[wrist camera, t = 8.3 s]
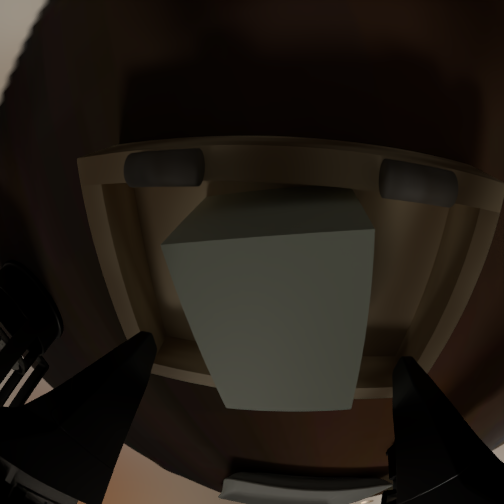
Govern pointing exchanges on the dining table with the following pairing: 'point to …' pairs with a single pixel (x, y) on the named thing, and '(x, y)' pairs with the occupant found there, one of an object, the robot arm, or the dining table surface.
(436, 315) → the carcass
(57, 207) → the dining table surface
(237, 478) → the square plate
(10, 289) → the french press
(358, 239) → the grey faceted block
